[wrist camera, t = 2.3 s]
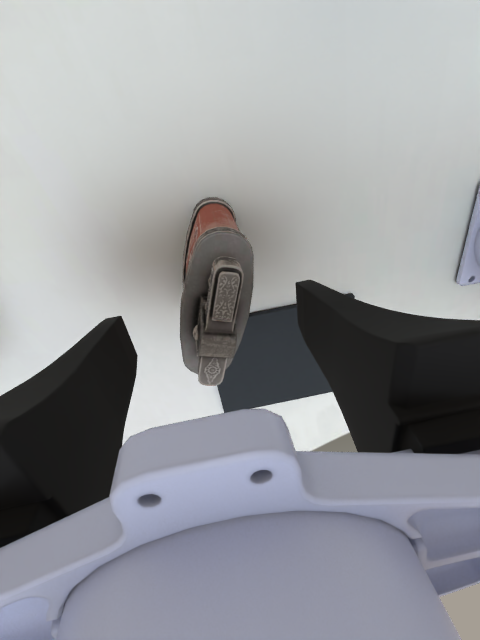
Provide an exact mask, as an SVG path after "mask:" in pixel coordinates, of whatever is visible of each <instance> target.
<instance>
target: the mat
mask: <svg viewBox="0 0 480 640" xmlns="http://www.w3.org/2000/svg"><path fill="white" fill-rule="evenodd" d="M346 296H349V297H351V298H355V296H354V295H353V294H352V293H351V294H346ZM217 386H218V390H219V394H220V398H221V402H222V405H223V409H224V413H227V412H232V411H237V410H242V409H251V408H256V407H261V406H266V405H270V404H275V403H280V402H285V401H290V400H295V399H299V398H304V397H309V396H314V395H319V394H324V393H328V392H333V391H332V389H331V387H330V385H329V383H328V381H327V379H326V377H325V376H324V374H323V372H322V371H321V369H320V367H319V365H318V364H317V362H316V360H315V359H314V357H313V355H312V354H311V352H310V350H309V348H308V347H307V345H306V343H305V341H304V338H303V336H302V334H301V331H300V328H299V326H298V318H297V304H295V305H290V306H285V307H280V308H275V309H270V310H265V311H260V312H255V313H250V314H249V317H248V320H247V323H246V327H245V330H244V333H243V336H242V340H241V342H240V345H239V347H238V349H237V351H236V353H235V355H234V358H233V360H232V362H231V364H230V365H229V367H228V368H227V369H225V373H224V378H223V381H222V382H221V383H220V384H219V385H217Z"/></svg>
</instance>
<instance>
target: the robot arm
mask: <svg viewBox="0 0 480 640" xmlns="http://www.w3.org/2000/svg"><path fill="white" fill-rule="evenodd" d="M470 277H471V278H470ZM469 278H470V279H469ZM456 282H457V283H458V284H459V285H461V286H465V285H470V284H475V283H480V187H479V190H478V194H477V198H476V202H475V207H474V211H473V215H472V219H471V223H470V227H469V231H468V235H467V239H466V243H465V247H464V251H463V255H462V259H461V263H460V267H459V271H458V275H457V279H456ZM296 299H297V318H298V326H299V328H300V331H301V334H302V336H303V338H304V341H305V343H306V345H307V347H308V348H309V350H310V352H311V354H312V355H313V357H314V359H315V360H316V362H317V364H318V365H319V367H320V369H321V371H322V372H323V374H324V376H325V377H326V379H327V381H328V383H329V385H330V387H331V389H332V391H333V393H334V395H335V397H336V400H337V402H338V404H339V407H340V409H341V411H342V414H343V416H344V419H345V421H346V423H347V426H348V428H349V431H350V433H351V436H352V438H353V441H354V444H355V446H356V449H357V451H358V452H309V451H295V448H294V445H293V442H292V439H291V436H290V433H289V430H288V427H287V426H286V424H285V422H284V420H283V418H282V416H279V415H277V414H275V413H273V412H271V411H268V410H266V409H242V410H237V411H232V412H227V413H222V414H217V415H212V416H208V417H203V418H198V419H193V420H188V421H183V422H178V423H173V424H169V425H164V426H159V427H154V428H150V429H148V430H145V431H143V432H140V433H138V434H136V435H133V436H131V437H129V438H128V440H127V441H126V442H125V444H124V445H123V446H122V440H123V432H124V426H125V421H126V417H127V413H128V408H129V404H130V400H131V396H132V392H133V387H134V383H135V378H136V370H137V353H136V351H135V348H134V346H133V343H132V341H131V338H130V336H129V334H128V331H127V329H126V326H125V324H124V321H123V319H122V316H117V317H112V318H107V319H105V320H103V321H102V322H101V323H99V324H98V325H97V326H96V327H95V328H94V329H92V330H91V331H90V332H89V333H88V334H87V335H86V336H84V337H83V338H82V339H81V340H80V341H79V342H78V343H76V344H75V345H74V346H73V347H72V348H70V349H69V350H68V351H67V352H66V353H64V354H63V355H62V356H61V357H59V358H58V359H57V360H56V361H54V362H53V363H52V364H50V365H49V366H48V367H46V368H45V369H43V370H42V371H41V372H39V373H38V374H36V375H35V376H33V377H32V378H30V379H29V380H27V381H25V382H24V383H22V384H20V385H19V386H17V387H15V388H13V389H12V390H10V391H8V392H7V393H5V394H3V395H1V396H0V640H461V638H460V636H459V634H458V632H457V630H456V628H455V626H454V624H453V623H452V621H451V619H450V617H449V615H448V613H447V611H446V609H445V607H444V605H443V604H442V602H441V600H440V598H439V597H441V596H444V595H447V594H450V593H453V592H455V591H458V590H461V589H464V588H467V587H470V586H473V585H476V584H479V583H480V320H458V319H443V318H434V317H425V316H418V315H412V314H407V313H402V312H396V311H392V310H388V309H384V308H381V307H377V306H373V305H370V304H367V303H364V302H362V301H359V300H356V299H354V298H351V297H349V296H346V295H344V294H341V293H339V292H337V291H335V290H333V289H330V288H328V287H326V286H324V285H322V284H320V283H317V282H315V281H312V280H306V281H301V282H296Z"/></svg>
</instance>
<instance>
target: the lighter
mask: <svg viewBox="0 0 480 640" xmlns="http://www.w3.org/2000/svg"><path fill="white" fill-rule="evenodd" d="M252 290H253V251H252V247H251V245H250V243H249V241H248V240H247V239H246V237H245V236H244V235H243V234H242V233H240V232H239V229H238V227H237V225H236V218H235V214H234V211H233V209H232V208H231V206H230V205H229V204H228V203H227V202H225V201H224V200H222V199H219V198H206V199H203V200H202V201H200V202H199V203H198V204H197V205H196V207H195V209H194V212H193V215H192V218H191V222H190V225H189V228H188V232H187V237H186V243H185V249H184V254H183V293H182V299H181V309H180V340H181V348H182V356H183V362H184V364H185V366H186V367H187V368H188V369H189V370H190V371H192V372H194V373H196V374H198V381H199V382H200V383H201V384H202V385H207V386H215V385H219V384H220V383H221V382H222V381H223V378H224V373H225V369H227V368H228V367H229V365H230V364H231V362H232V360H233V358H234V355H235V353H236V351H237V349H238V347H239V345H240V342H241V340H242V336H243V333H244V330H245V327H246V323H247V320H248V317H249V311H250V304H251V297H252Z"/></svg>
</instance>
